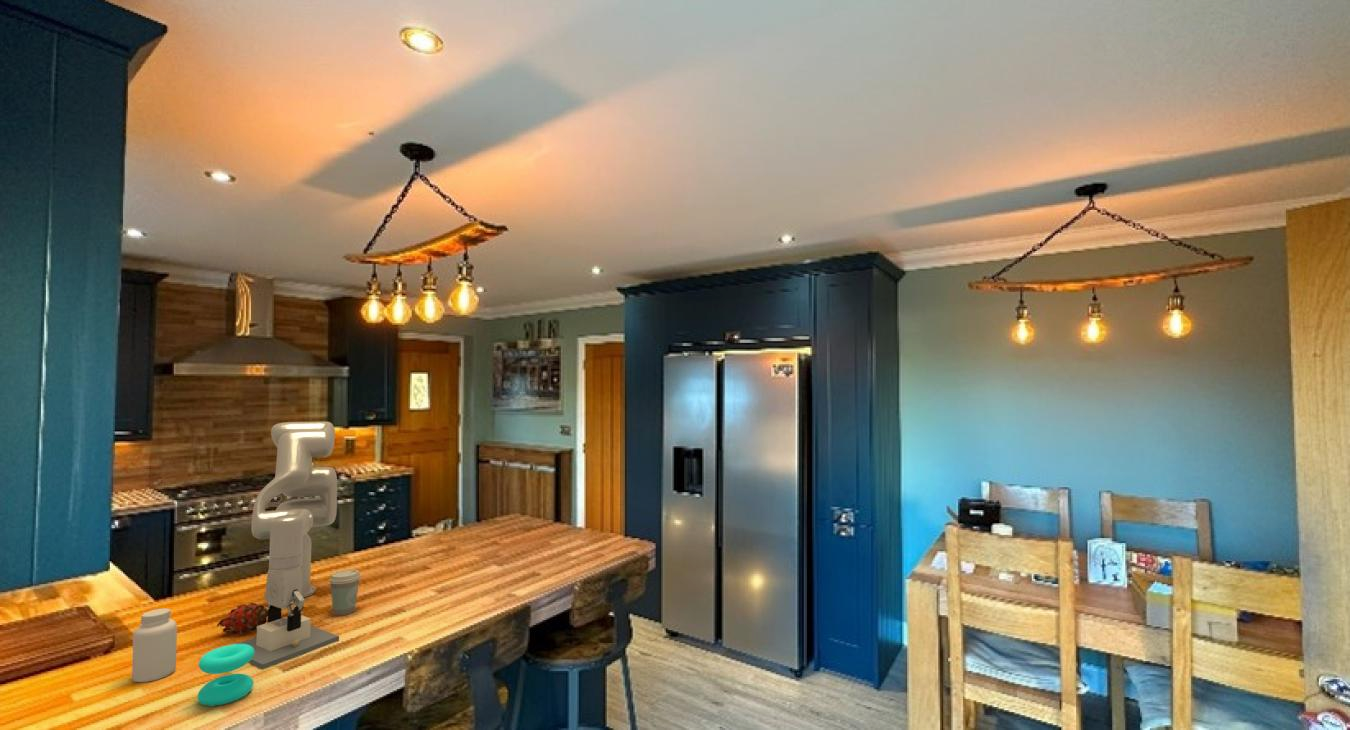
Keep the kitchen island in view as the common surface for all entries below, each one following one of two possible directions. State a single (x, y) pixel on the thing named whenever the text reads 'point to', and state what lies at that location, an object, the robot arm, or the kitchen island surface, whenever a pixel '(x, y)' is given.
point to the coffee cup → (344, 591)
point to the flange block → (281, 634)
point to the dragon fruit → (244, 618)
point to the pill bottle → (154, 646)
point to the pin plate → (289, 647)
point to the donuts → (227, 685)
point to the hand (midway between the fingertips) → (284, 625)
